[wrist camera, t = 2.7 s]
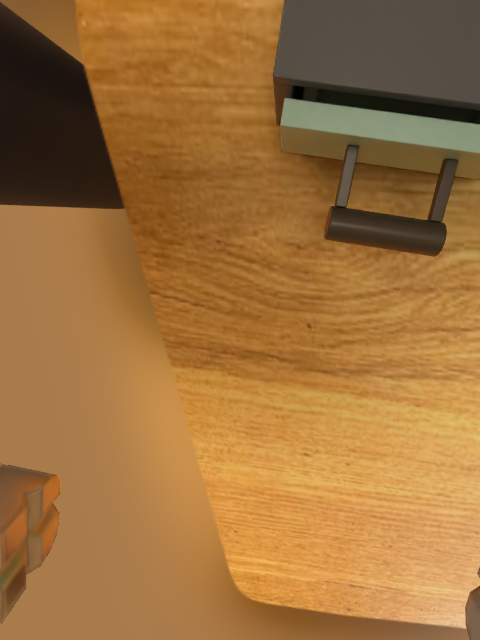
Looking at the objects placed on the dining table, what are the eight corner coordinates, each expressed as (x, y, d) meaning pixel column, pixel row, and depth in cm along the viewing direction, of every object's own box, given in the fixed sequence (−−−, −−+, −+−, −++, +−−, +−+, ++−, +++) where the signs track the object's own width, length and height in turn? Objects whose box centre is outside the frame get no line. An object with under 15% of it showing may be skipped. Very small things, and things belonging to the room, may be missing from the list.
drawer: (456, 256, 27) (523, 272, 20) (268, 227, 28) (263, 231, 20) (551, -80, 22) (689, -231, 15) (322, -104, 23) (341, -260, 16)
